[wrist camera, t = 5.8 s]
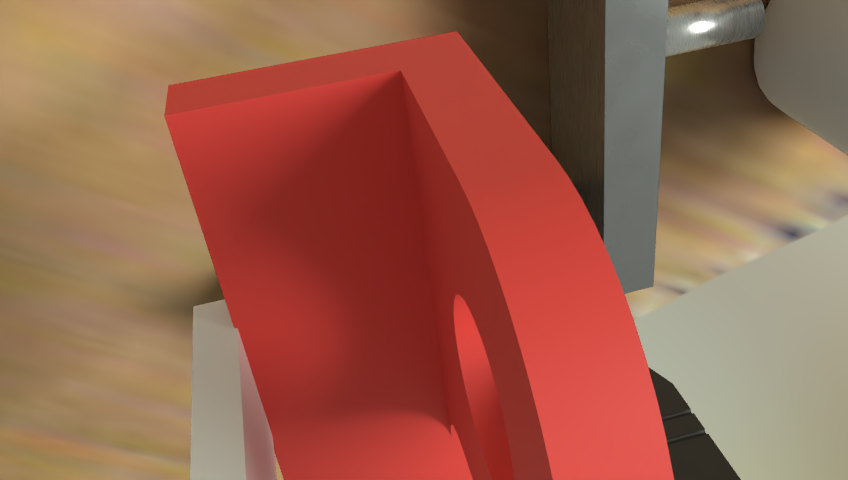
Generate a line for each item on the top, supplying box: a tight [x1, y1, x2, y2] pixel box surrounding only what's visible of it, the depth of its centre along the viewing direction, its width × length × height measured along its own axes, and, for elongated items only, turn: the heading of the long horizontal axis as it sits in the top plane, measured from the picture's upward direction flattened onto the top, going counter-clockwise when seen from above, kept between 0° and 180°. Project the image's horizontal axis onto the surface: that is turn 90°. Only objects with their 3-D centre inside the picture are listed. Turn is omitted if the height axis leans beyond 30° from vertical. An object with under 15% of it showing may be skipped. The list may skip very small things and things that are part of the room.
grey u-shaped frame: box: [547, 0, 765, 294], centre depth 26 cm, size 20×18×5 cm
